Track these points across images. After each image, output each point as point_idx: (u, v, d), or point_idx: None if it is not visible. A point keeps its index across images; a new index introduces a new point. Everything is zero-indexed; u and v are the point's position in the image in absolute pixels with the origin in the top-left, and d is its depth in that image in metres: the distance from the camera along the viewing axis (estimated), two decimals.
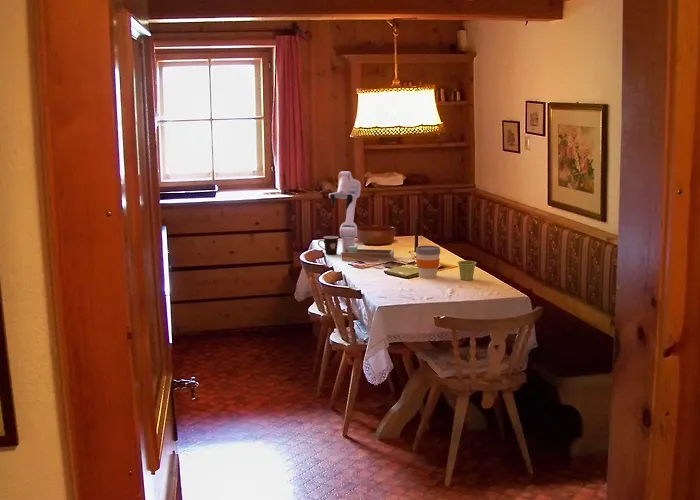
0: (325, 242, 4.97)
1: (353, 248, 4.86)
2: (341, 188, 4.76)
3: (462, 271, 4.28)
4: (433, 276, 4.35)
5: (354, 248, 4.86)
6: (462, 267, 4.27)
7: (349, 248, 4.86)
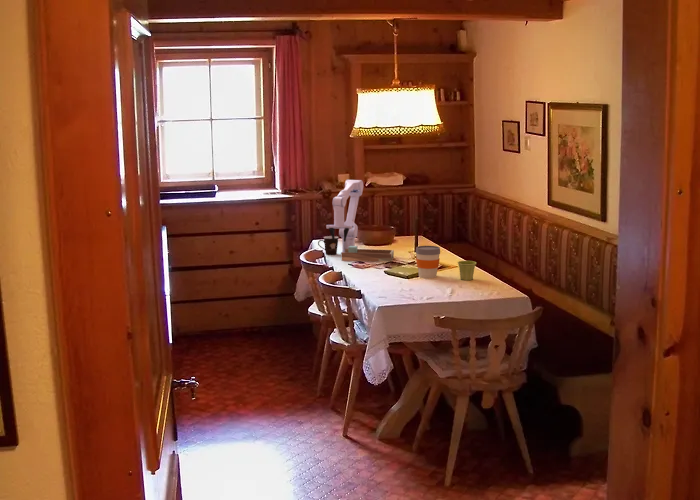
0: (325, 242, 4.97)
1: (353, 248, 4.86)
2: (337, 222, 4.84)
3: (462, 271, 4.28)
4: (433, 276, 4.35)
5: (354, 248, 4.86)
6: (462, 267, 4.27)
7: (349, 248, 4.86)
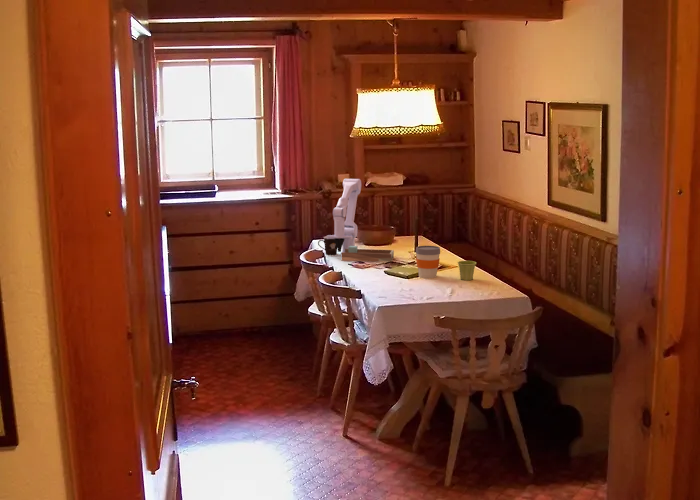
0: (325, 242, 4.97)
1: (353, 248, 4.86)
2: (338, 232, 4.85)
3: (462, 271, 4.28)
4: (433, 276, 4.35)
5: (354, 248, 4.86)
6: (462, 267, 4.27)
7: (349, 248, 4.86)
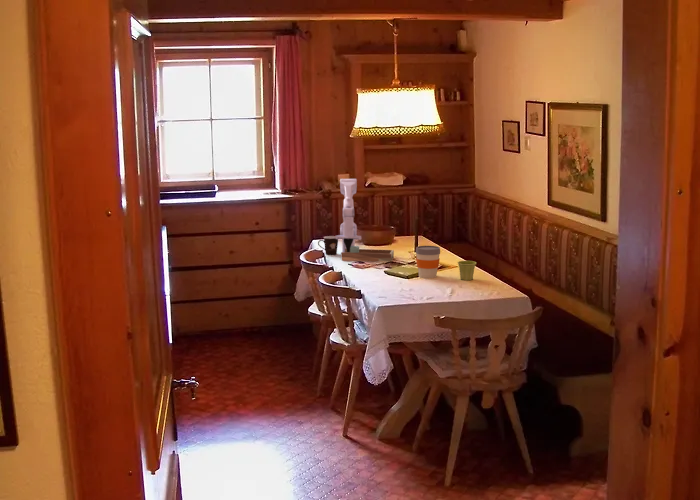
0: (325, 242, 4.97)
1: (355, 248, 4.86)
2: (347, 232, 4.84)
3: (462, 271, 4.28)
4: (433, 276, 4.35)
5: (356, 248, 4.85)
6: (462, 267, 4.27)
7: (351, 248, 4.86)
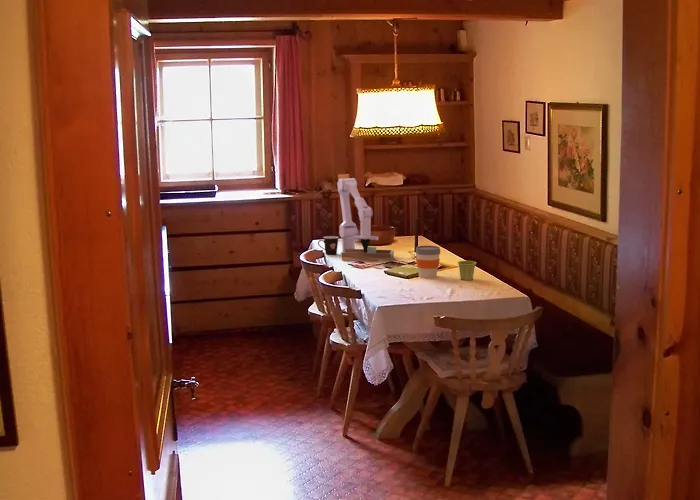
0: (325, 242, 4.97)
1: (372, 249, 4.84)
2: (364, 233, 4.83)
3: (462, 271, 4.28)
4: (433, 276, 4.35)
5: (373, 249, 4.84)
6: (462, 267, 4.27)
7: (368, 249, 4.84)
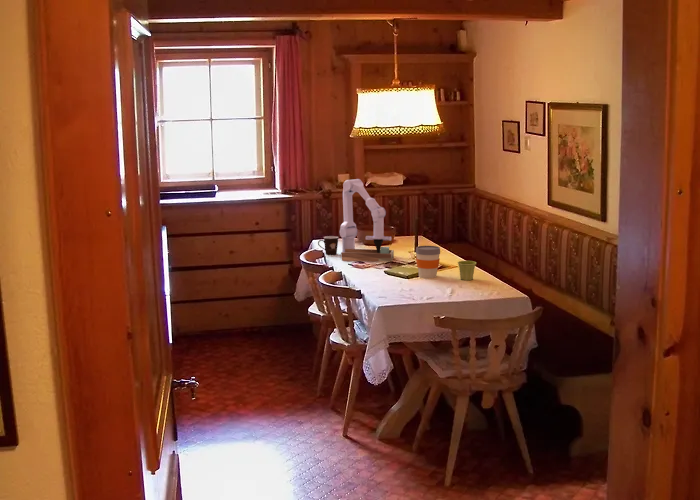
0: (325, 242, 4.97)
1: (385, 249, 4.83)
2: (377, 233, 4.81)
3: (462, 271, 4.28)
4: (433, 276, 4.35)
5: (386, 249, 4.83)
6: (462, 267, 4.27)
7: (381, 249, 4.83)
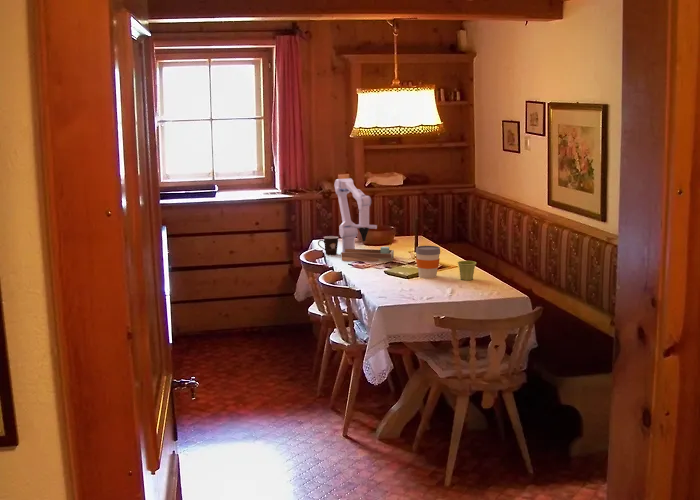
0: (325, 242, 4.97)
1: (385, 249, 4.83)
2: (363, 221, 4.82)
3: (462, 271, 4.28)
4: (433, 276, 4.35)
5: (386, 249, 4.83)
6: (462, 267, 4.27)
7: (381, 249, 4.83)
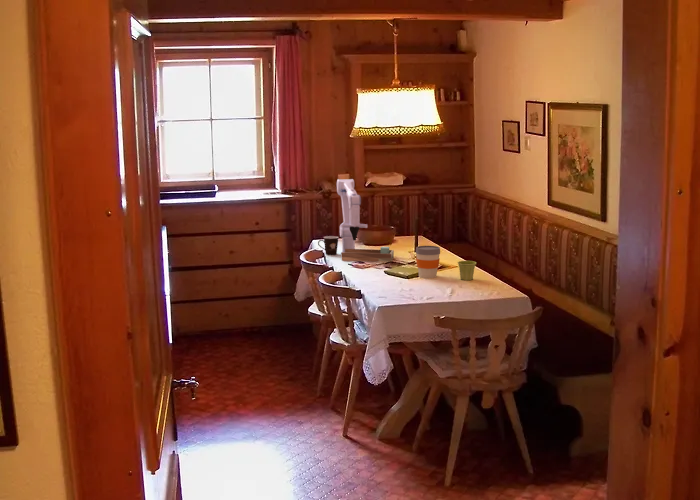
0: (325, 242, 4.97)
1: (385, 249, 4.83)
2: (353, 221, 4.82)
3: (462, 271, 4.28)
4: (433, 276, 4.35)
5: (386, 249, 4.83)
6: (462, 267, 4.27)
7: (381, 249, 4.83)
